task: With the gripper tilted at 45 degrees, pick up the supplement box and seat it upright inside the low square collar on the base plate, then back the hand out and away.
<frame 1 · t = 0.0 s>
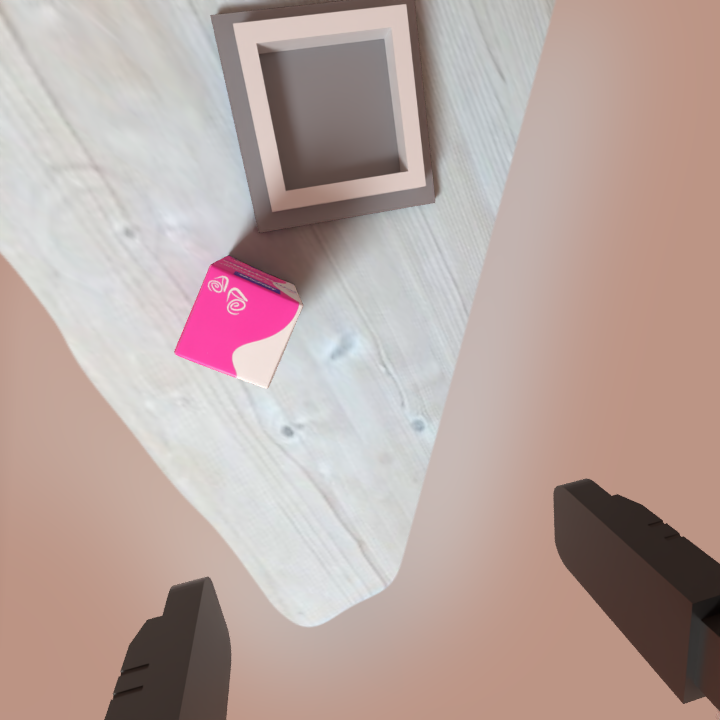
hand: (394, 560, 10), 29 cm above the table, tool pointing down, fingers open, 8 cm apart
supplement box: (248, 300, 37), on the table
socket: (331, 120, 34), on the table
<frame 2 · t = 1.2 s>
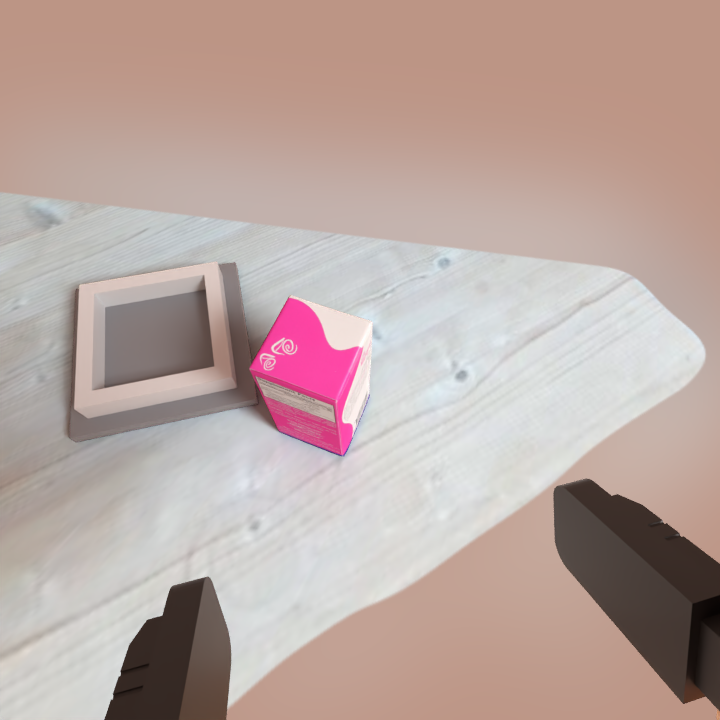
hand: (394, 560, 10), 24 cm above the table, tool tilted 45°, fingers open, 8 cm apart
supplement box: (323, 414, 37), on the table
socket: (165, 346, 39), on the table
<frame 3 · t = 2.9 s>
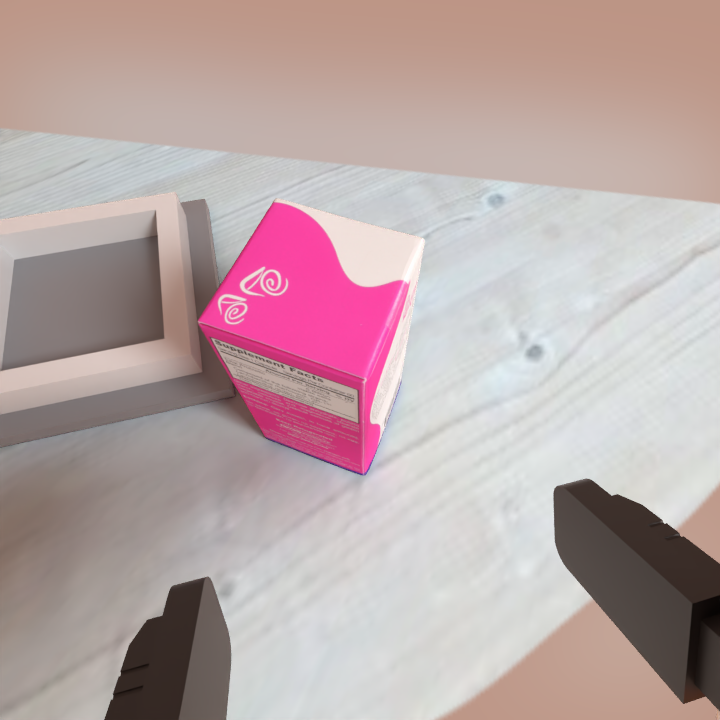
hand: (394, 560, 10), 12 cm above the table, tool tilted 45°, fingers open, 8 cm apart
supplement box: (333, 410, 25), on the table
socket: (100, 315, 27), on the table
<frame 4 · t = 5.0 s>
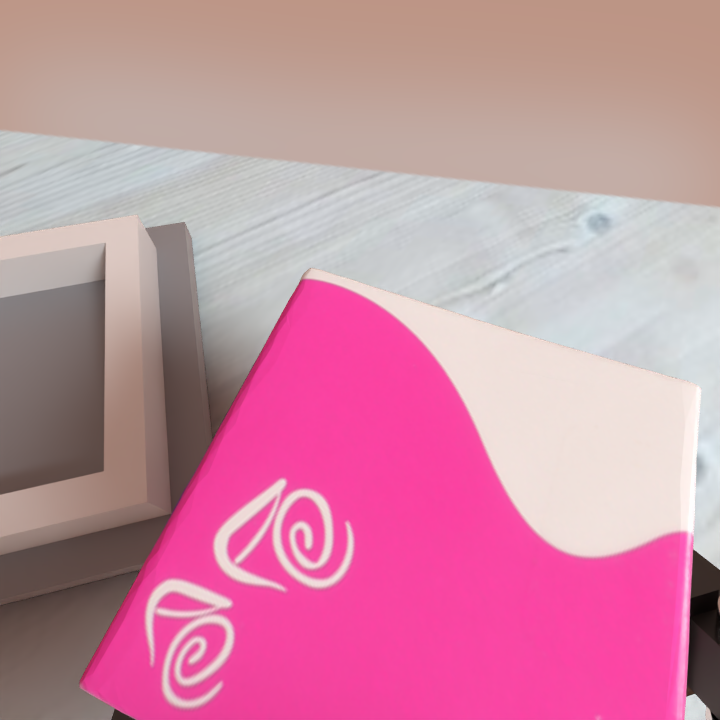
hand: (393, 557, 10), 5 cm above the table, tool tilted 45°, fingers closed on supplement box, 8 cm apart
supplement box: (383, 572, 15), on the table, touching gripper
socket: (20, 404, 18), on the table
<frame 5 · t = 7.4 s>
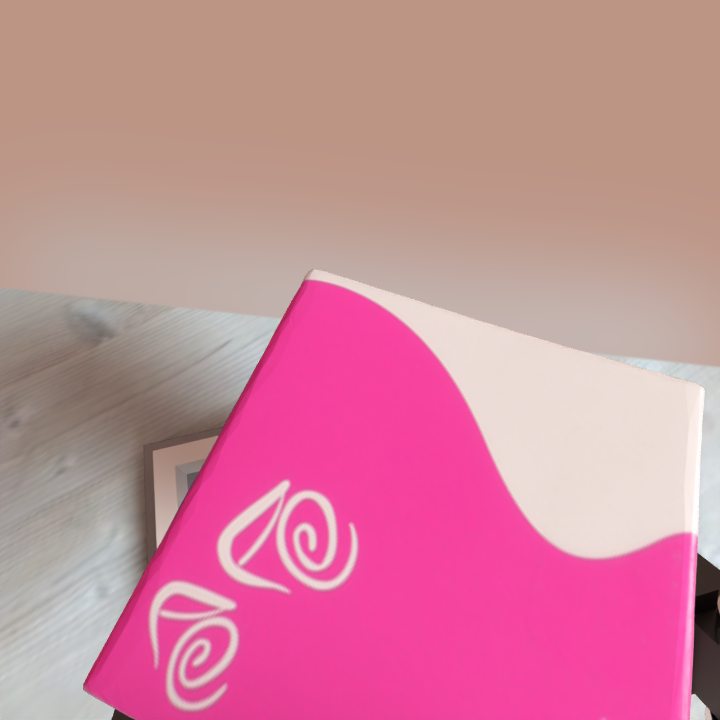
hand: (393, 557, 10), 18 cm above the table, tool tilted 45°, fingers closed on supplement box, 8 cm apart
supplement box: (384, 572, 15), point 12 cm above the table, touching gripper
socket: (274, 533, 27), on the table
when the fingers open (7 cm above the table, at t = 10.1 s): supplement box stays where it is, resting on socket.
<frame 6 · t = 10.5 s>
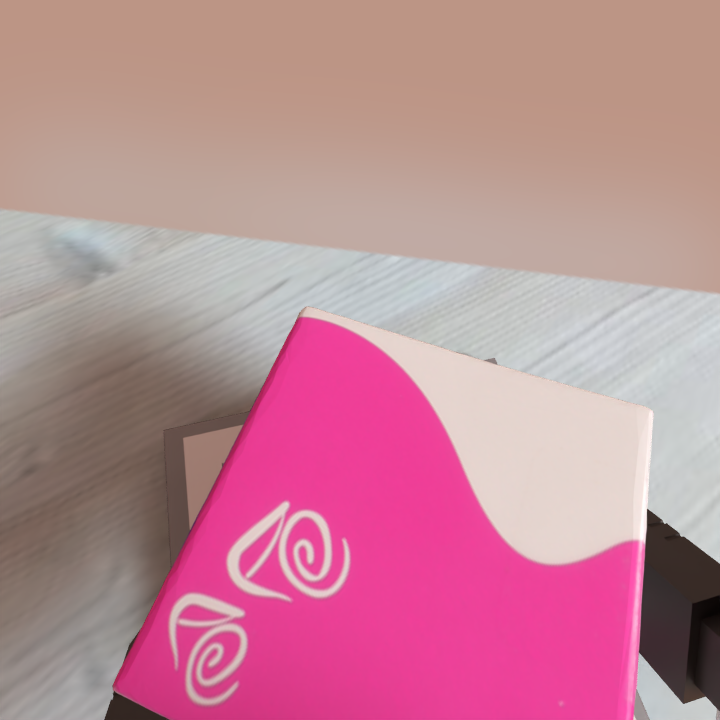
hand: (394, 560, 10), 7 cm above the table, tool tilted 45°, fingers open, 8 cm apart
supplement box: (378, 577, 16), point 1 cm above the table, touching gripper, socket
socket: (379, 574, 17), on the table
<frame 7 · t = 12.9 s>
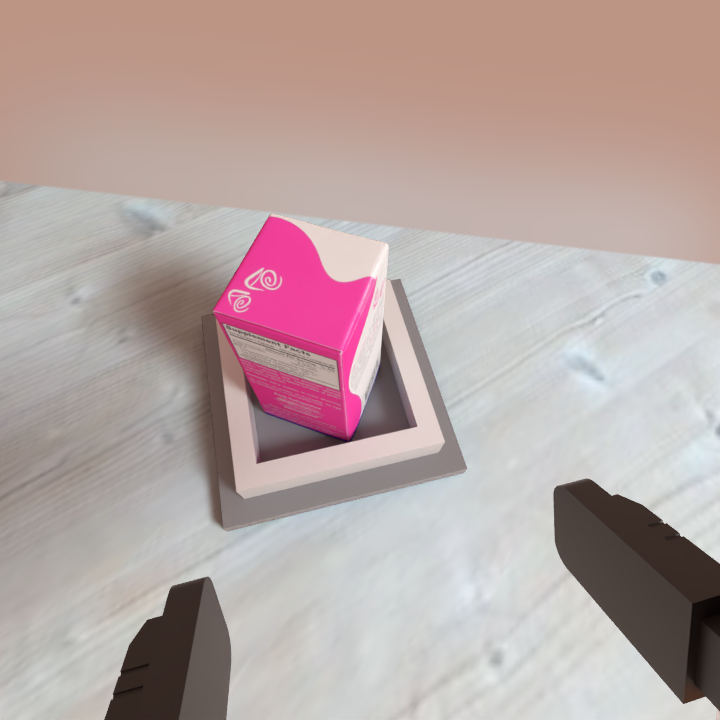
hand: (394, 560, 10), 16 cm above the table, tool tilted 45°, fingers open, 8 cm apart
supplement box: (322, 390, 29), point 1 cm above the table, touching socket
socket: (324, 392, 30), on the table
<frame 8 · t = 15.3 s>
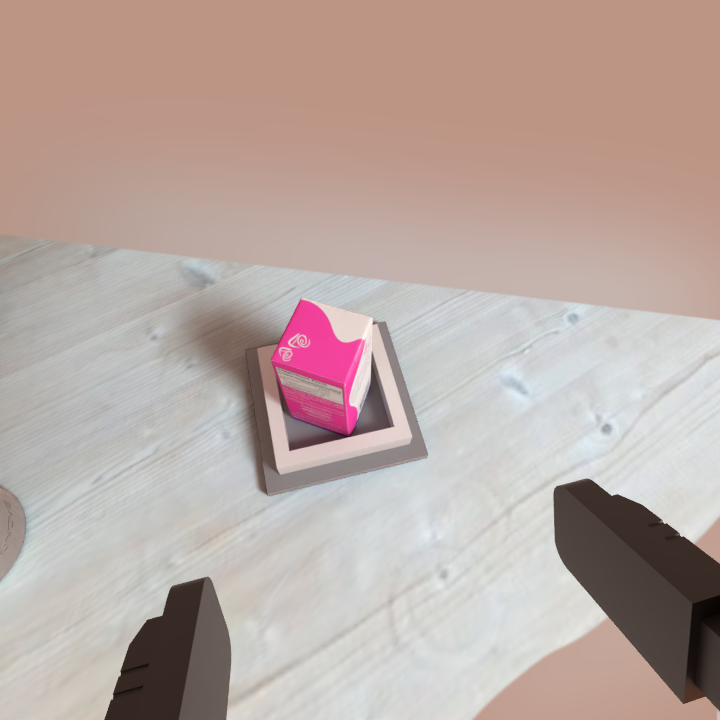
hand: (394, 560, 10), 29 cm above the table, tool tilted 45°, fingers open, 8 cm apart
supplement box: (331, 401, 42), point 1 cm above the table, touching socket
socket: (332, 403, 43), on the table
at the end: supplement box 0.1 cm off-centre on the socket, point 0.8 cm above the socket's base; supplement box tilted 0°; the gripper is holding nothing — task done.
